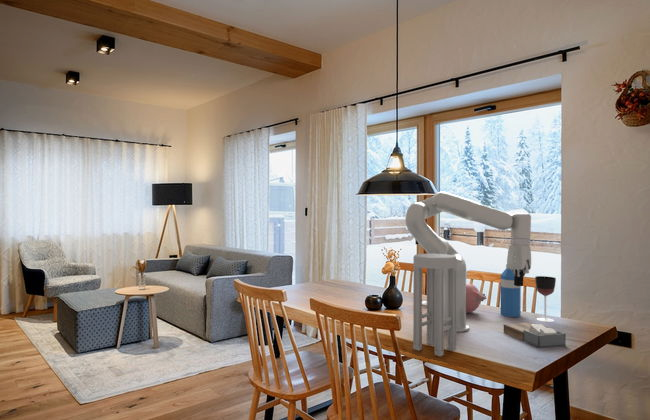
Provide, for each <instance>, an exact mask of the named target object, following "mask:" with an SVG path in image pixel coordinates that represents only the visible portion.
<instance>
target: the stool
mask: <svg viewBox="0 0 650 420" xmlns="http://www.w3.org/2000/svg"><path fill="white" fill-rule="evenodd" d="M456 268H457V258H456V256H454V255H448V254H428V253H417V254H415V255H413V279H412V280H413V285H412V286H413V296H412V297H413V299H412V301H413V302H412V303H413V304H412V305H413V307H412V308H413V310H412V311H413V313H412V314H413V316H412V317H413V325H412V326H413V328H412V329H413V334H412V335H413V340H412V343H413V345H412V347H413V348H412V350H416V351H421V350H422V349H423V327H425V326H426V344H427V345H430V346H433V345H434V355H435V356H438V357H443V356H444V350H445V349H444V348H445V347H444V346H445V345H444V336H445V333H444V332H446V331H447V330H448V331H447V350H448V351H449V350H450V351H455V350H457V332H456ZM423 269H426V301H427V306H426V312H424V313H423V305H422V301H423ZM444 269H448V317H446V318H444ZM425 318H426V320H425V321H423V319H425ZM447 321H448V325H447V326H444V322H447Z"/></svg>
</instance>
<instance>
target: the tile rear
mask: <svg viewBox="0 0 650 420" xmlns="http://www.w3.org/2000/svg"><path fill="white" fill-rule="evenodd" d="M530 324H531V325H530V329H529V331H530V332H531V333H534V334H536V335H539V332H540V329H543V328H547V327H546V326H545V325H543V323H535V324H533V323H530Z"/></svg>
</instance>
